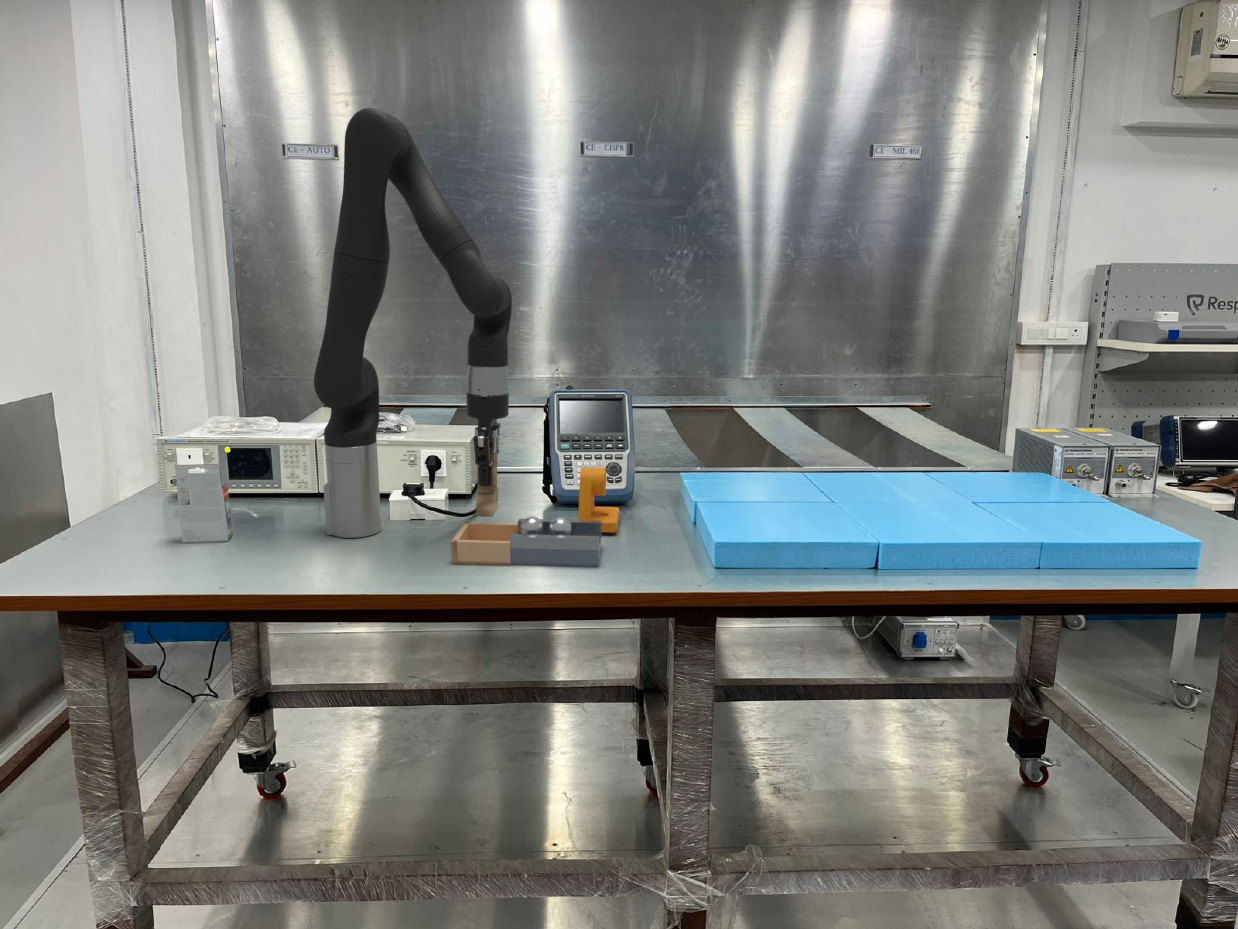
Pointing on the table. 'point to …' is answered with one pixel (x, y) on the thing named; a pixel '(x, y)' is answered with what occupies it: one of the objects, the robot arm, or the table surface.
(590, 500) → the bracket
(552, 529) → the ball
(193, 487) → the ink box
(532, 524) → the ball
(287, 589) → the table surface
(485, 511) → the tall wooden post
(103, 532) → the table surface
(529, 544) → the slot rail
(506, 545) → the tray
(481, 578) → the table surface
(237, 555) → the table surface
